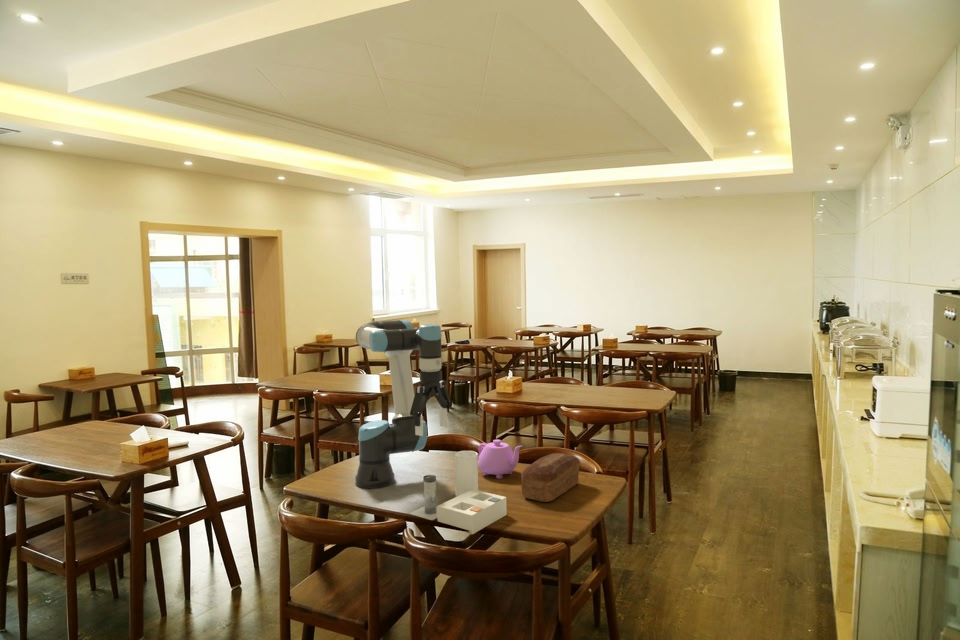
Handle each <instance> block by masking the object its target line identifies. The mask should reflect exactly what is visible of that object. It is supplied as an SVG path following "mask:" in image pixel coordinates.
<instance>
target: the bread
mask: <svg viewBox="0 0 960 640" xmlns="http://www.w3.org/2000/svg"><path fill="white" fill-rule="evenodd" d="M580 461H581V460H580V459H579V457H577V456H576V455H575V456H574V455H572V454H567V453H562V452H559V453H558V452H557V453H555V452H554V453H550V454H547V455H545V456H542V457H540V458H539V459H536V460H535V461H534V462H532V463H531V464H530V465H528V466H526V468H525V469H524V470H522V472H521V474H520V477H521V495H522V496H523V497H524V498H526V499H529V500H532V501H537V502H543V503H545V502H546V503H547V502H551V501H554V500H555V499H556V498H558V497H559V496H561V495H563V494H565V493H567V492H568V491H569V490H570V489H572V488H574V487H575V486H576V485H577V484H578V482H579V479H580V478H579V473H580V465H581V462H580Z"/></svg>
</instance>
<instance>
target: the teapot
mask: <svg viewBox="0 0 960 640" xmlns="http://www.w3.org/2000/svg"><path fill="white" fill-rule="evenodd" d="M492 441H493V442H489V443H486V442H482V443H480V444H479V445H478V449H477V450H478V454H479V455H478V469H480V471H481V472H482V476H485V475H486V476H489V475H495V478H496V479H498V478H499V479H503V478H504V477H503V475H512V474H513V471H514V470H515V468H517V466H518V463H519V459H520V455H519V454H520V449H521V448H522V447H523V445H517V446H515V448H514V450H513V449H512V447H511V446H510V445H509V444H508V443H506V442H502V440H501V439H493V440H492ZM499 479H498V480H499Z"/></svg>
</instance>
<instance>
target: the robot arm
mask: <svg viewBox="0 0 960 640" xmlns="http://www.w3.org/2000/svg"><path fill="white" fill-rule="evenodd" d="M442 336H443V335H442V327H441V326H440V325H439V324H432V323H431V324H421V325H420V326H419V327H415V328H414V326H413V324H412V322H410V321H409V320H401V319H398V320H384V321H383V320H381V321H380V320H379V321H376V320H375V321H370V322H366V323H364V324H362V325H361V326H360V327H358V329H357V331H356V333H355V341H356V343H357V344H358V345H359V346H360V347H361V348H364V349H366V350H371V352H372V353H373V352H374V353H384V355H385V356H386V357H387V358H388V363H389V371H390V372H389V373H390V381H391V391H392V399H393V400H392V401H393V408H394V416H393V417H392V418H391V423H390V422H389V421H388V420H385V419H382V420H373V421H370V422H366V423H365V424H362V425H361V426H360V427H359V429H358V439H357V440H358V454H359V455H358V458H359V460H358V461H359V463H358V464H359V465H358V467H357V473H356V475H355V485H356V486H357V487H359V488H365V489H379V488H385V487H387V486H390V485H392V484H393V483H394V482H395V481H396V480H395V479H396V478H395V473H394V471H393V467H392V465H391V460H390V456H391V455H393V454H401V453H403V454H404V453H408V452H409V453H411V452H412V453H414V452H417V451H421V450H423V449H424V448H425V446H426V444H427V440H428V426H427V422H426V421H425V420H424V416H422V414H423V412H424V409H425V408H426V405H427V403H428V401H429V400H430V399H432V398H433V397H434V398H435V399H436V401H437V403H438V404H439V405H440V407H439V427H443V428H444V427H445V428H446V427H447V428H448V409H450V408H451V405H452V400H451V398H450V395H449V391H448V389H447V385H446V383H447V382H446V381H445V380H443V372H442V370H441V369H442ZM416 350H417V351H418V350H419V357H418V358H419V360H418V361H419V369H420V371H419V381H420V382H421V386H415V388H414V381H413V375H412V365H411V358H410V357H411V354H412V352H413V351H416ZM414 389H415V390H414Z"/></svg>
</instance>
